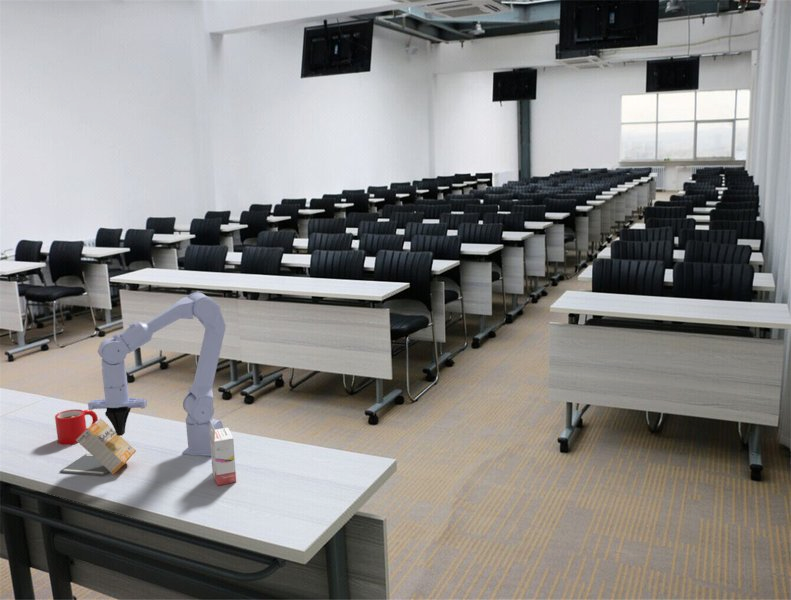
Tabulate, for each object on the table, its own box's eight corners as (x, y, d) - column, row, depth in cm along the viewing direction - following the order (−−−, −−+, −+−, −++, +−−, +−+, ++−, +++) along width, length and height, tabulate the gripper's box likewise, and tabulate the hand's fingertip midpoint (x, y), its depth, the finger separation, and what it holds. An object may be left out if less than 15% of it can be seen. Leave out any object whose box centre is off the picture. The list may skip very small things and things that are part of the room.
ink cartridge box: (237, 482, 174) (233, 427, 171) (217, 486, 173) (212, 430, 170) (231, 468, 182) (227, 415, 179) (212, 472, 180) (207, 418, 177)
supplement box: (125, 463, 179) (87, 428, 178) (112, 475, 180) (74, 440, 178) (137, 449, 187) (101, 416, 186) (125, 461, 188) (89, 428, 186)
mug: (105, 433, 208) (102, 408, 207) (67, 446, 199) (63, 420, 197) (91, 427, 213) (88, 403, 211) (52, 440, 203) (49, 415, 202)
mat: (128, 458, 190) (128, 456, 190) (103, 476, 180) (103, 474, 179) (86, 455, 193) (86, 453, 193) (59, 472, 182) (59, 470, 182)
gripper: (148, 379, 184) (153, 427, 186) (93, 380, 184) (99, 429, 186) (139, 387, 177) (144, 438, 179) (82, 389, 177) (88, 439, 179)
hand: (120, 434), depth 182 cm, fingers closed
